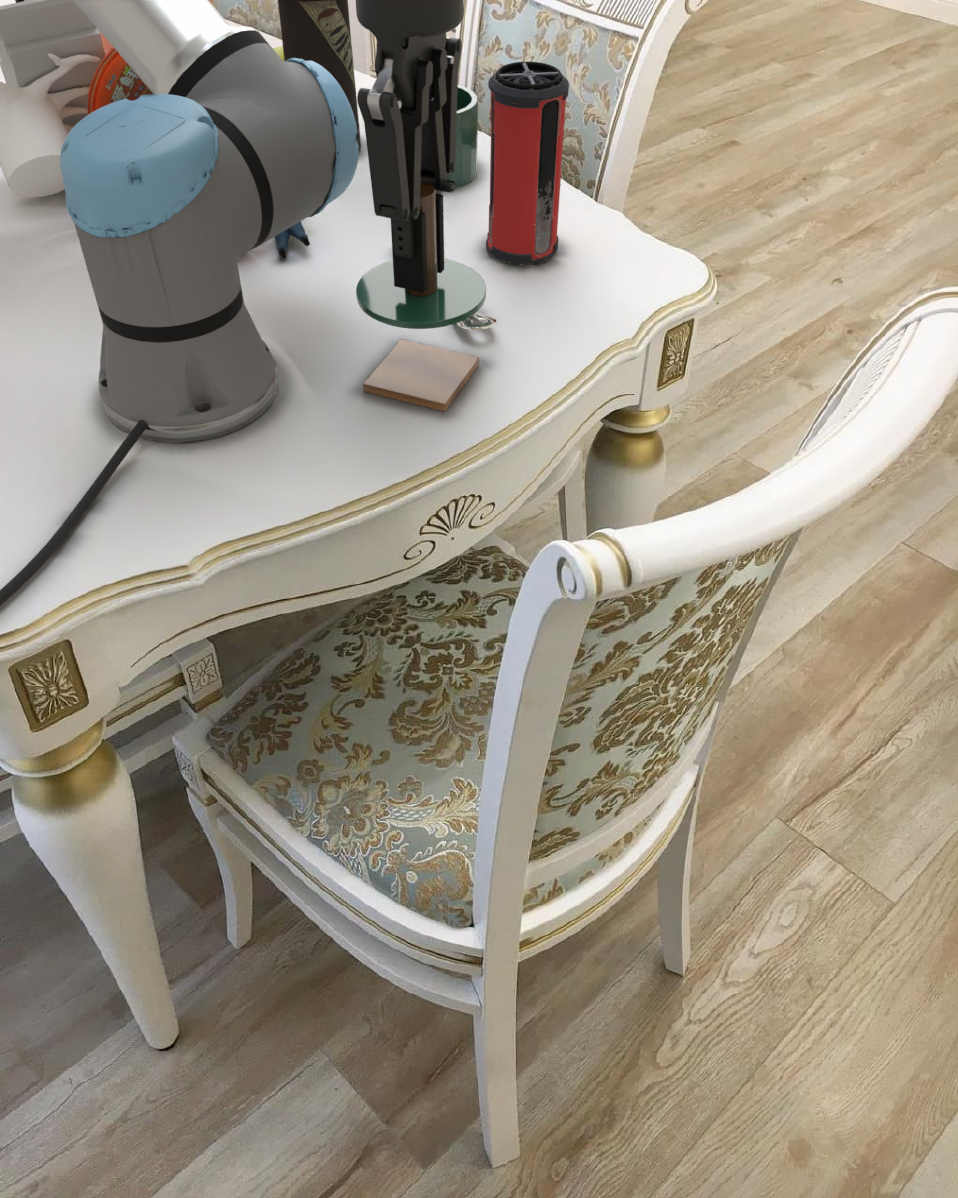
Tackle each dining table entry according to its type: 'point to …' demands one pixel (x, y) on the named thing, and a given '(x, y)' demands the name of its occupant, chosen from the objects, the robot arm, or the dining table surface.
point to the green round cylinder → (465, 138)
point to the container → (321, 40)
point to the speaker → (525, 161)
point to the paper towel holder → (442, 301)
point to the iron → (48, 46)
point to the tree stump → (37, 130)
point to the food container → (114, 83)
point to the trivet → (421, 375)
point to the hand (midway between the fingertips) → (419, 277)
